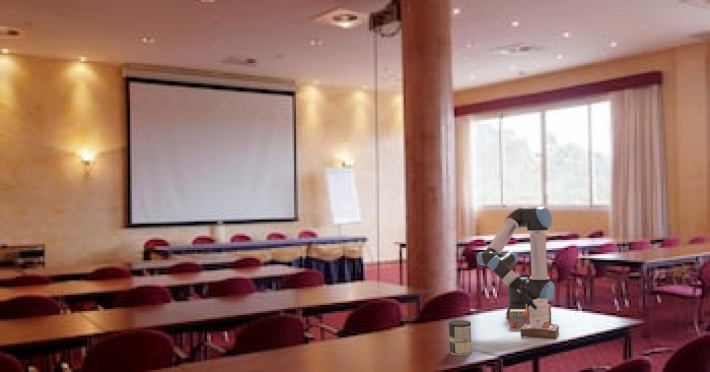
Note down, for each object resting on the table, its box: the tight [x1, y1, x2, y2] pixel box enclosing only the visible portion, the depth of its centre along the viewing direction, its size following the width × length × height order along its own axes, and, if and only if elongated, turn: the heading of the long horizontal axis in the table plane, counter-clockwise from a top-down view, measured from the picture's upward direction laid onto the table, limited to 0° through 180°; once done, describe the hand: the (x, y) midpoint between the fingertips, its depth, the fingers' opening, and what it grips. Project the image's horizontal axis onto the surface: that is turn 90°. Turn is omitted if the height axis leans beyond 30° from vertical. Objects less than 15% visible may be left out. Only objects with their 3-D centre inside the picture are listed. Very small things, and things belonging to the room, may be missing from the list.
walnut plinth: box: [520, 324, 560, 340], centre depth 325 cm, size 13×17×4 cm
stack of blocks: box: [509, 303, 552, 329], centre depth 345 cm, size 21×6×12 cm, turn 83°
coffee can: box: [448, 319, 473, 356], centre depth 294 cm, size 10×10×14 cm
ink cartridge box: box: [529, 298, 549, 328], centre depth 325 cm, size 9×5×15 cm, turn 104°
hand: (543, 311), depth 324 cm, fingers open, 13 cm apart
